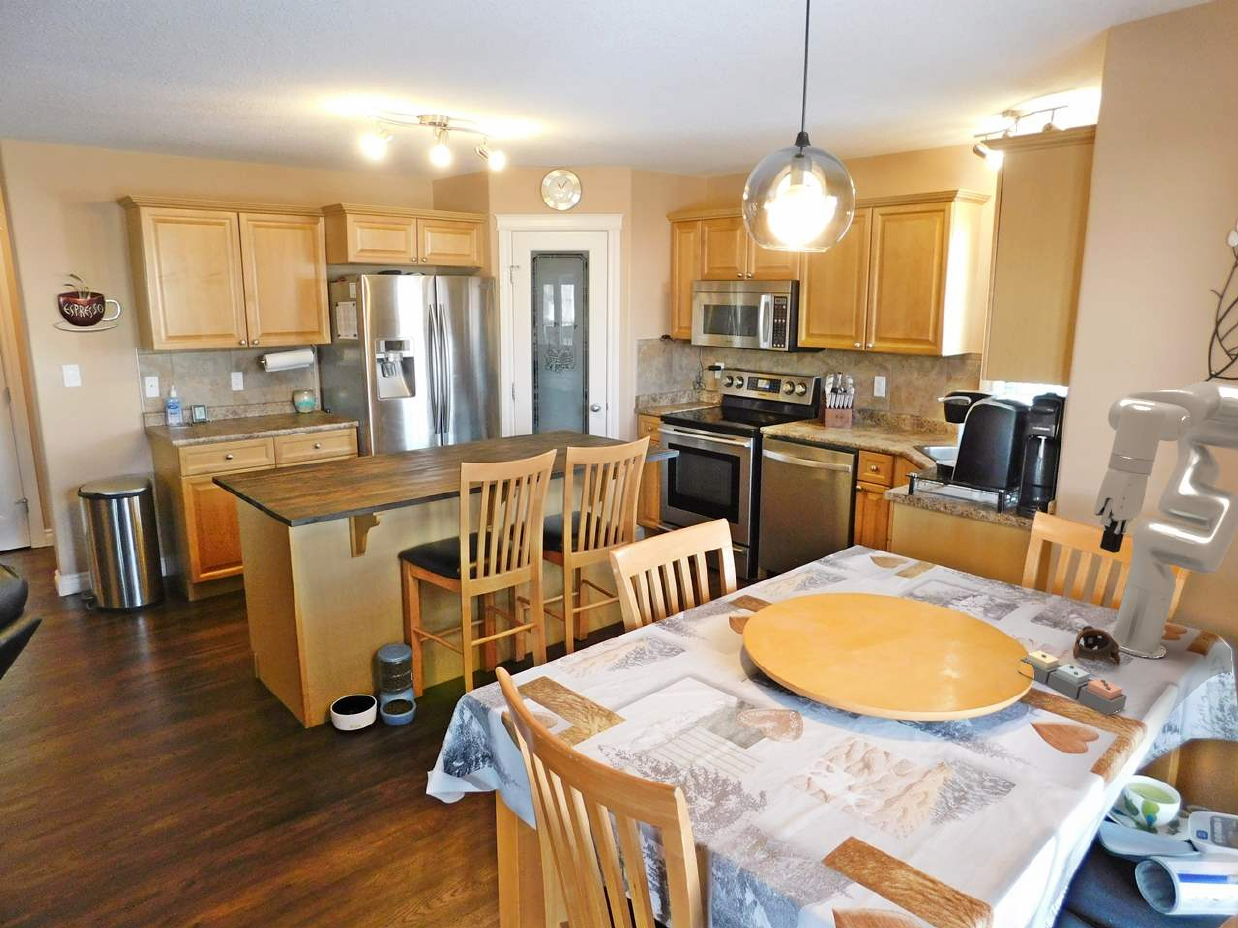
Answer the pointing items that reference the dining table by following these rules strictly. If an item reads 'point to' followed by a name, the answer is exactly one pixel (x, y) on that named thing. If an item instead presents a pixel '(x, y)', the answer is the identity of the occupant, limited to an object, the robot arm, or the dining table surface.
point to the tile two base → (1065, 686)
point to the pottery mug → (1105, 645)
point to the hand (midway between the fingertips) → (1109, 550)
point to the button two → (1073, 674)
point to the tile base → (1101, 701)
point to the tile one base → (1041, 672)
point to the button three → (1104, 689)
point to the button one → (1043, 660)
